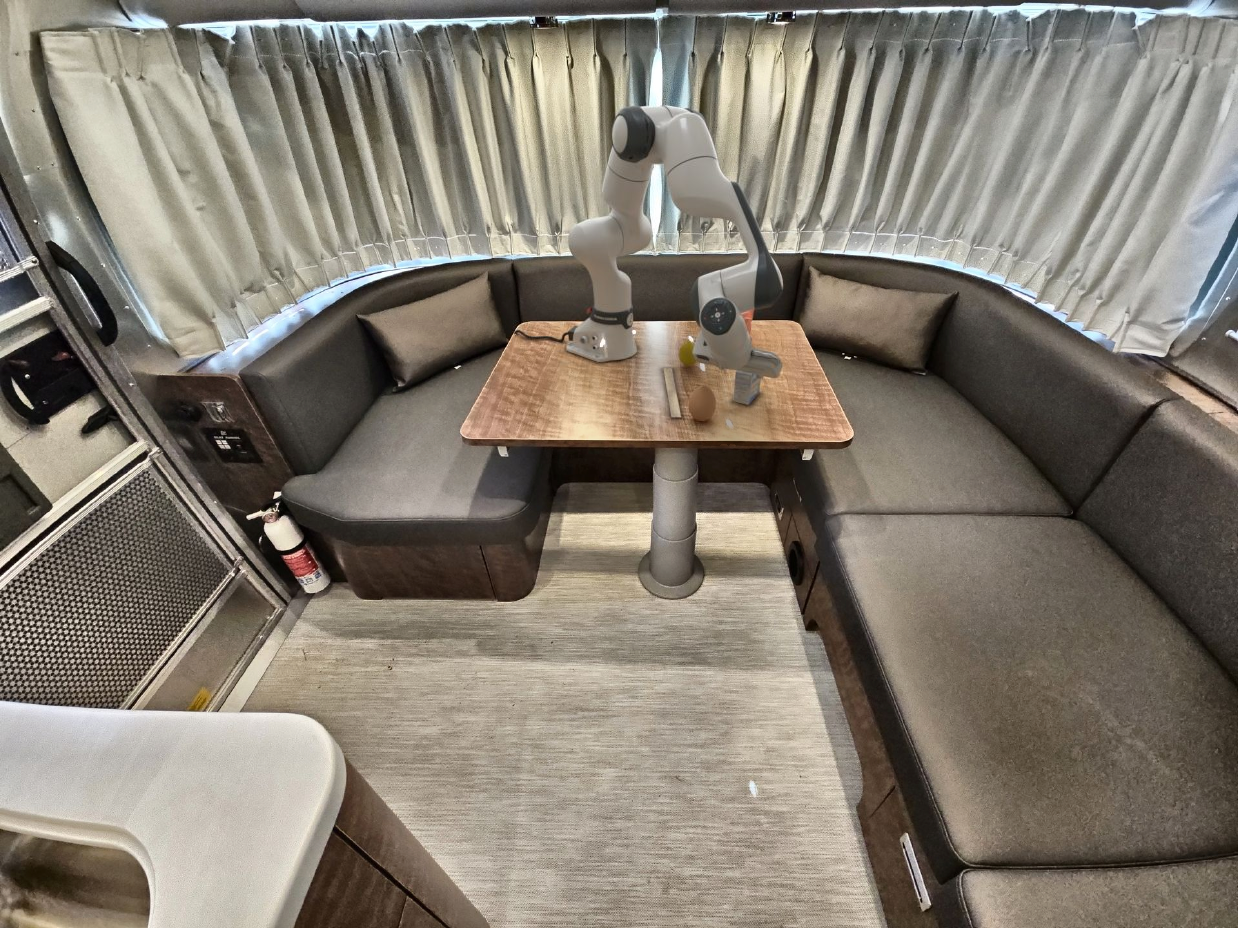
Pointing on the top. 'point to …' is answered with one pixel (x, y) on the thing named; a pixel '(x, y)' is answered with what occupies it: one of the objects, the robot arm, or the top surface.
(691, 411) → the egg
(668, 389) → the strip
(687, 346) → the lemon
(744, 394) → the medicine box
